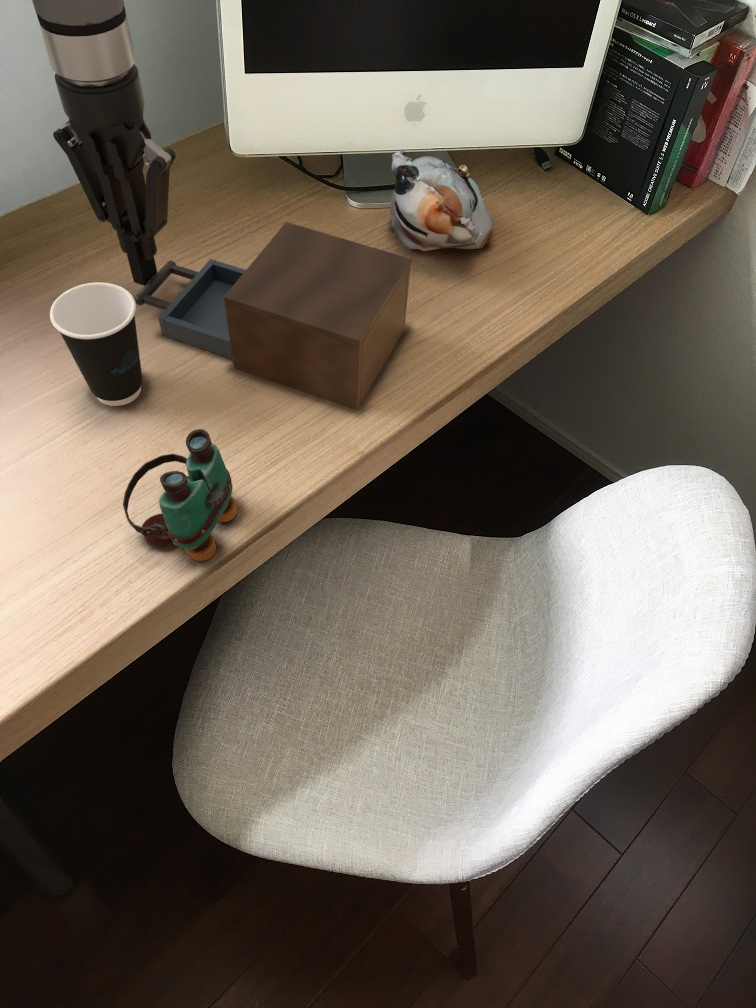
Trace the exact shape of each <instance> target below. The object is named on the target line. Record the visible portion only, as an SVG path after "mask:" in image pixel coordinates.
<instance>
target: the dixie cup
mask: <svg viewBox="0 0 756 1008" xmlns="http://www.w3.org/2000/svg"><path fill="white" fill-rule="evenodd" d="M134 298H135V297H134V296H133V295H132V293H130V291H128V290H127V289H126V288H124V287H122V286H120V285H117V284H114V283H109V282H100V281H99V282H97V281H96V282H87V283H83V284H79V285H76V286H74V287H72V288H70V289H67V290H66V291H64V292H62V294H60V295H59V296H58V297H57V298H56V299H54V301H53V303H52V305H51V307H50V311H49V317H50V318H49V319H50V322H51V324H52V326H53V327H54V328H55V329H56V330H57V331H58V332H59V333H60V335H61V337H62V339H63V341H64V343H65V345H66V346H67V349H68V350H69V352H70V354H71V357H72V358H73V360H74V362H75V364H76V366H77V368H78V369H79V371H80V372H81V375H82V377H83V379H84V381H85V382H86V384H87V386H88V388H89V390H90V392H91V393H92V394H93V396H94V397H96V399H97V400H98V401H99V402H100V403H101V404H103V405H106V406H111V407H120V406H125V405H128V404H131V402H133V401H135V400H136V399H137V398H138V397H139V396H140V394H141V391H142V384H143V373H142V364H141V356H140V349H139V341H138V340H139V339H138V332H137V325H136V316H135V314H136V311H137V304H136V303H135V300H134Z"/></svg>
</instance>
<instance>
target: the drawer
mask: <svg viewBox="0 0 756 1008" xmlns="http://www.w3.org/2000/svg"><path fill="white" fill-rule="evenodd" d="M246 270H247V269H244V268H242V267H238V266H234V265H232V264H228V263H225V262H222V261H219V260H216V259H213V258H209V260H207V262H206V263H205V264H204V266H202V268H200V270H199V271H196V270H193V269H190V268H187V267H183V266H181V265H177V263H176V262H175V261H174V260H168V261H167V262H166V263H165V264H164V265H163V266H162V267H161V268H160V269H159V270H158V271H157V272H158V273H157V274H156V275H155V276H154V277H153V278H152V279H151V280H150V281H149V282H148V283H147V284H146V285H145V286H143V287H142V289H141V290H140V291H139V292H138V293H137V294H136V295H135V296H134V297H133V298H134V300H135V303H136V306H143V305H147V306H149V307H154V308H157V309H160V310H162V313H161V314H160V315H159V316H158V318H157V319H158V323H159V324H158V325H159V328H160V332H161V335H162V336H163V337H167V338H170V339H173V340H176V341H178V342H182V343H185V344H188V345H191V346H194V347H197V348H200V349H202V350H205V351H209V352H211V353H215V354H217V355H221V356H223V357H227V358H228V359H229V358H230V359H232V352H231V345H230V338H229V331H228V324H227V317H226V310H225V303H224V296H225V295H226V294H227V292H228V291H229V290H230V289H231V288H232V286H233V285H234V284H235V283H236V282H237V280H238V279H239V278H240V277H241V276H242V274H243V273H244V272H245V271H246ZM171 275H176V276H179V277H182V278H184V279H185V278H186V279H188V280H190V281H189V282H188V283H187V285H185V287H184V288H183V289H182V290H181V291H180V292H179V293H178V295H177V296H176V297H175V298H174V299H173V300H172V301H167V300H165V299H162V298H158V297H155V296H153V294H155V293H156V291H157V290H158V289H159V288H160V287H161V286H162V285H163V284H164V283H165V281H166V280H167V279H168V278H169V277H170V276H171Z"/></svg>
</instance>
